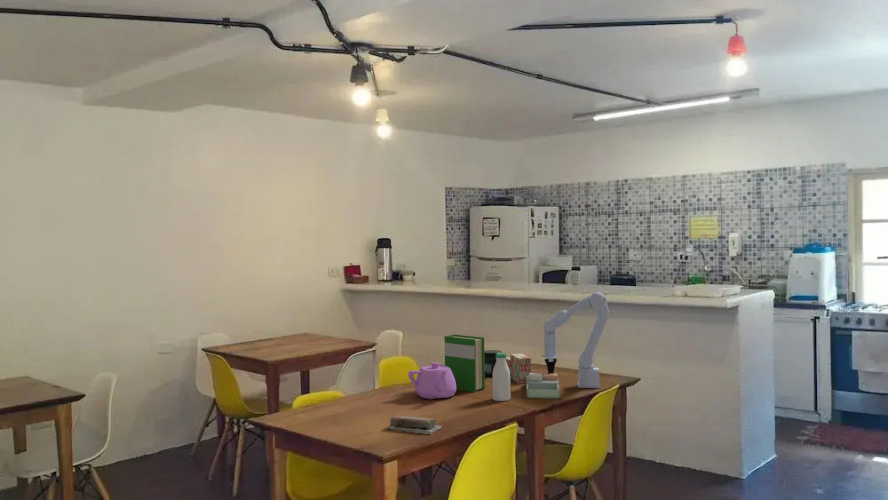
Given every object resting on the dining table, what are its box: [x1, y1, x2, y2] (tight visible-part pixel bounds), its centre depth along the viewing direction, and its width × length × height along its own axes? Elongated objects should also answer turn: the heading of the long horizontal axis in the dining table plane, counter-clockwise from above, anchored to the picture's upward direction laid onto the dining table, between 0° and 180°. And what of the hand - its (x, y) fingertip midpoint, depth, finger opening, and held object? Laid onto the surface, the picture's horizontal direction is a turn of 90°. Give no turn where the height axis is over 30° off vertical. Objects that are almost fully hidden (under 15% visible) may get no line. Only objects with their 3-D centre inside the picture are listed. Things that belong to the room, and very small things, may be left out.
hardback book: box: [443, 334, 486, 393], centre depth 332 cm, size 18×7×24 cm, turn 50°
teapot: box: [407, 361, 457, 400], centre depth 314 cm, size 23×21×15 cm
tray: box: [526, 384, 560, 399], centre depth 317 cm, size 14×12×4 cm
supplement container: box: [484, 349, 503, 378], centre depth 362 cm, size 10×10×12 cm
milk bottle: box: [492, 352, 512, 402], centre depth 309 cm, size 8×8×20 cm
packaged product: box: [387, 414, 443, 435], centre depth 266 cm, size 18×5×10 cm
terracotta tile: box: [543, 372, 559, 380], centre depth 332 cm, size 6×6×2 cm
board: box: [525, 375, 560, 390], centre depth 330 cm, size 14×15×4 cm
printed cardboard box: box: [506, 353, 532, 384], centre depth 352 cm, size 21×6×12 cm, turn 15°
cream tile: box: [529, 372, 543, 380], centre depth 332 cm, size 6×6×2 cm
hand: (550, 374), depth 337 cm, fingers closed
